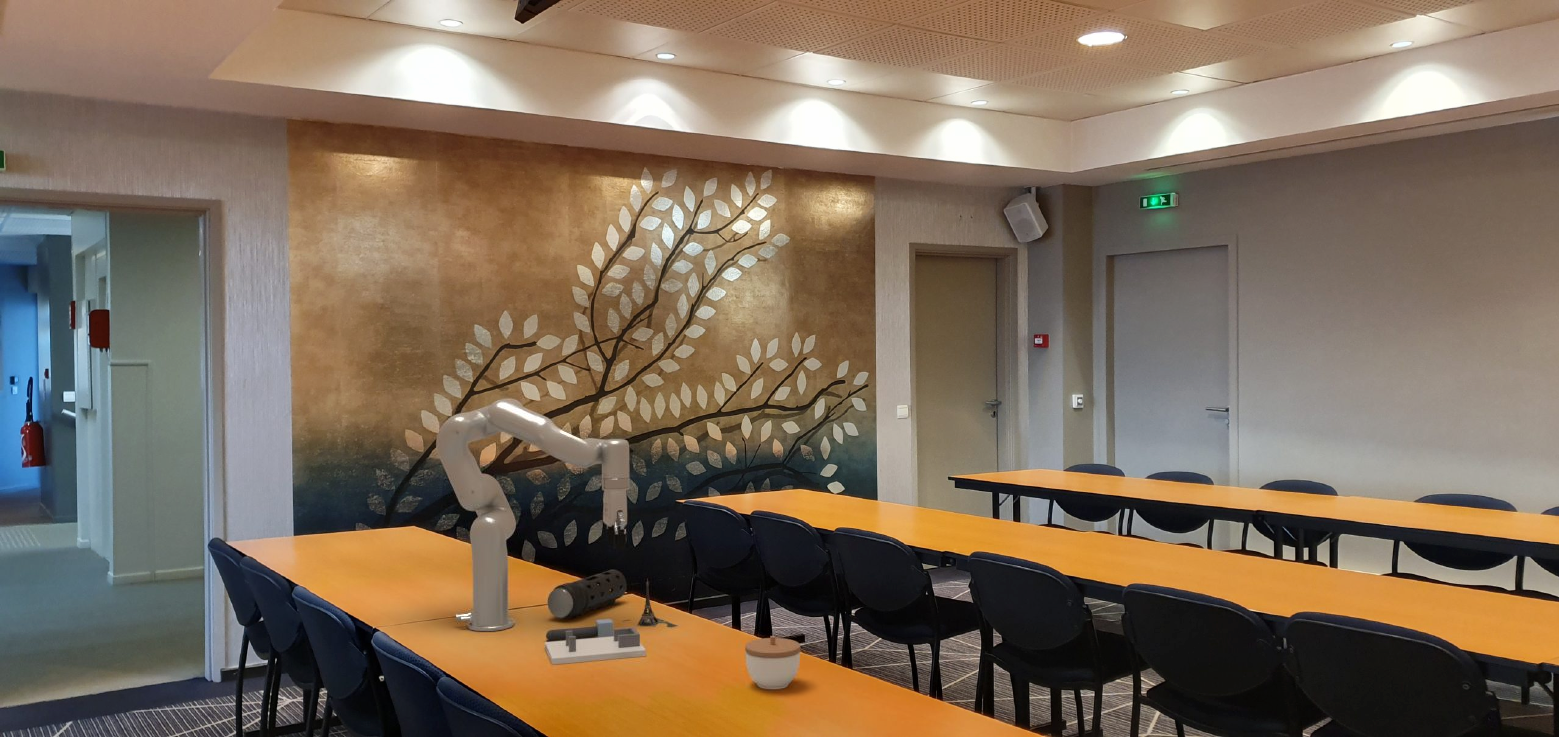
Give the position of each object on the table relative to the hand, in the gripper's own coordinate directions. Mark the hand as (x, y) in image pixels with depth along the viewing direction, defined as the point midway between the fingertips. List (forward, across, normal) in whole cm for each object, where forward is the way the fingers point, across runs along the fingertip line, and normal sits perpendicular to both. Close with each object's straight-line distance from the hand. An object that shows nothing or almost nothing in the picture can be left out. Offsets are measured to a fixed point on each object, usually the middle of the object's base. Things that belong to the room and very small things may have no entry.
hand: (616, 545), depth 304 cm
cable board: (+22, +24, -11) cm, 34 cm away
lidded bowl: (+23, +66, +22) cm, 73 cm away
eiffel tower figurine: (+23, 0, +9) cm, 25 cm away
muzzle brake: (+23, -20, -4) cm, 31 cm away
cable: (+22, +9, -12) cm, 27 cm away
